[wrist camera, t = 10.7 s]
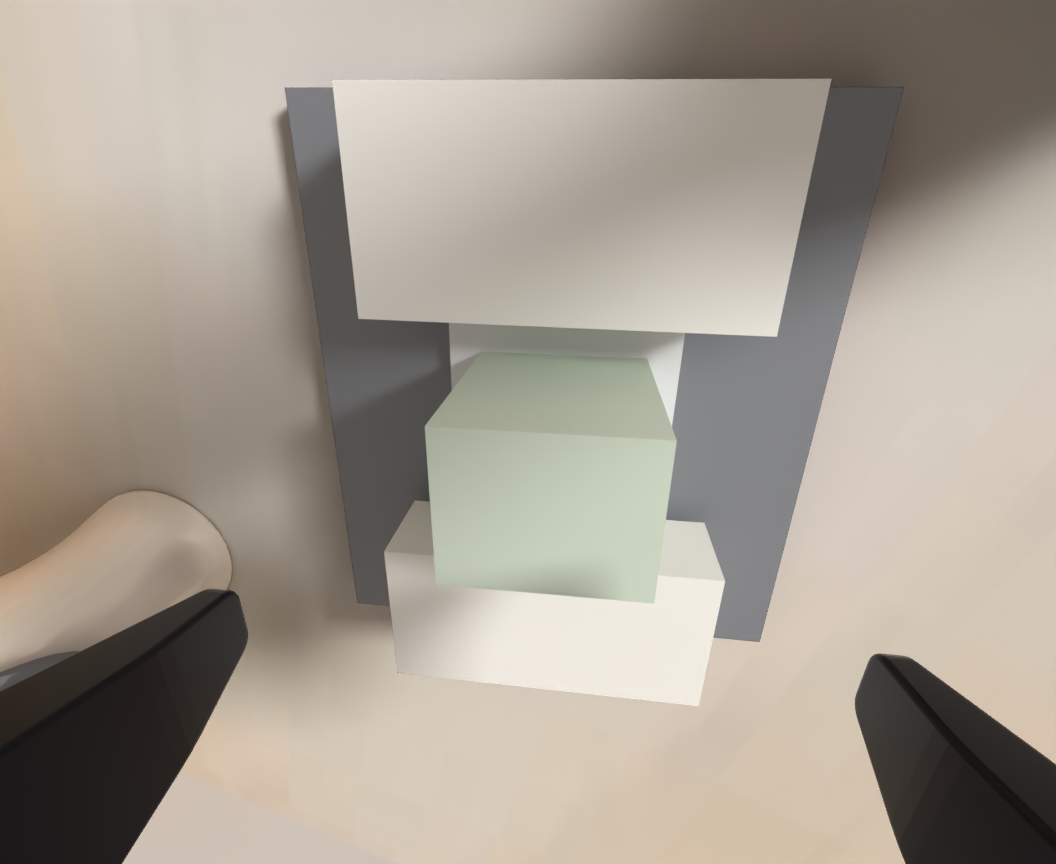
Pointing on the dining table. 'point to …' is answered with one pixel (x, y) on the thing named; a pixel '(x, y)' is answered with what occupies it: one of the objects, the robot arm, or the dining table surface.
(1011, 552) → the dining table surface
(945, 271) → the dining table surface
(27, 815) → the robot arm
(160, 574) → the beer glass
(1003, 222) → the dining table surface
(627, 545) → the block
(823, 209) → the rail panel
